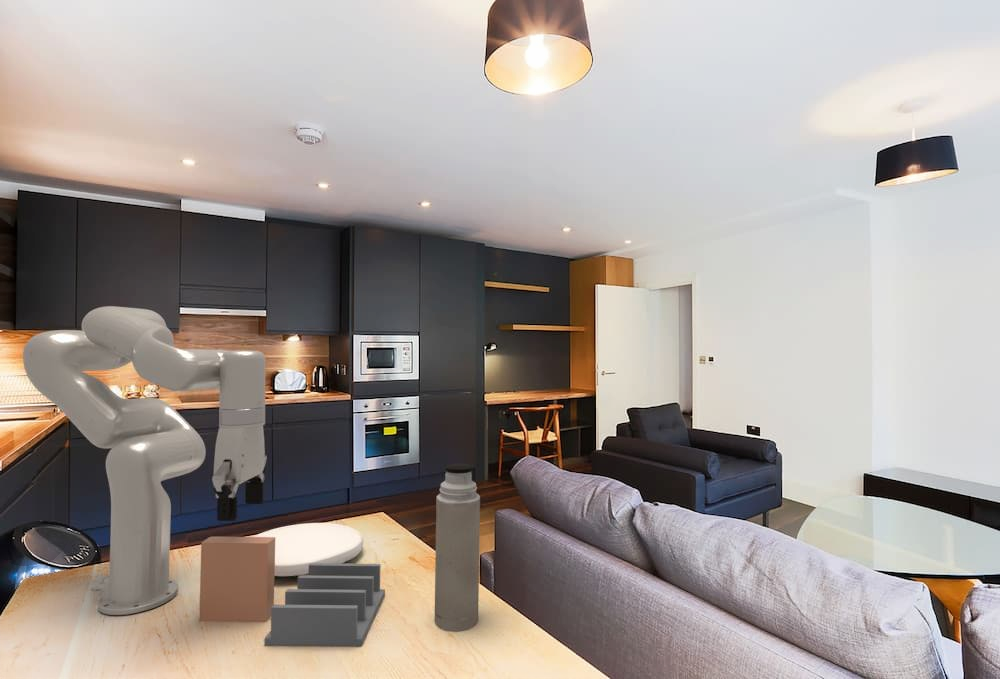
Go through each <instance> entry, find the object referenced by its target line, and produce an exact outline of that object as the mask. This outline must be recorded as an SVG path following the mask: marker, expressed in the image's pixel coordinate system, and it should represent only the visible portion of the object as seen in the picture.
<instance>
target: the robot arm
mask: <svg viewBox="0 0 1000 679" xmlns="http://www.w3.org/2000/svg"><path fill="white" fill-rule="evenodd" d="M174 341H175V340H174V334H173V332H172V331H171V330H170V329H169V328H168V327H167V324H166V321H165V319H164V318H163V316H161V315H160V314H159V313H157V312H156V311H153V310H151V309H147V308H136V307H126V306H115V305H113V306H112V305H109V306H101V307H97V308H95V309H92V310H90V311H89V312H88V313H86V315H85V316H84V317H83V319H82V321H81V330H76V329H59V330H56V329H55V330H49V331H45V332H40V333H37V334H36V335H33V336H32V337H31V338H30V339H28V340H27V342H26V343H25V345H24V348H23V351H22V362H23V367H24V372H25V373H26V376H27V379H29V381H30V383H31V384H32V385H33V387H34V388H35V389H36V390H37V391H38V392H39V393H40V394H42V395H43V396H44V397H45V398H46V399H48V400H49V401H50V402H52V403H53V404H54V405H55V406H56V407H58V408H59V409H60V410H61V412H62V413H63V414H64V415H65V416H66V417H67V419H69V421H70V422H71V423H72V424H73V425H74V426H75V427H76V428H77V429H78V430H79V431H80V433H81V434H82V435H83V436H84V437H85V438H86V440H88V441H89V443H91V444H92V445H94V446H96V447H97V448H99V449H110V450H109V452H108V453H107V456H106V459H105V470H106V476H107V480H108V487H109V492H110V543H109V544H110V546H109V547H110V548H109V575H96V577H95V578H94V579H93V583H92V584H91V585H90V589H89V591H91V592H99V591H102V597H100V599H99V600H98V603H97V610H98V611H99V612H100V613H102V614H104V615H108V616H109V615H111V616H123V615H124V616H125V615H131V614H132V615H133V614H137V613H142V612H144V611H149V610H151V609H155V608H157V607H159V606H162V605H163V604H166V603H167V602H169V601H171V600H172V599H173V598H175V596H177V594H178V590H179V584H178V583H177V582H176V581H174V580H173V579H170V553H171V551H170V550H171V548H170V547H171V521H172V520H171V517H172V516H171V515H172V514H171V513H172V510H171V509H172V505H171V499H170V497H169V494H168V493H167V491H166V490H165V489H164V487H163V486H162V483H161V482H162V481H166V480H169V479H174V478H176V477H180V476H183V475H187V474H189V473H192V472H194V471H195V470H197V469H198V468H200V467H201V465H202V464H203V463H204V462H205V459H206V453H207V452H206V445H205V443H204V440H203V439H202V437H201V436H200V434H199V433H198V432H197V431H196V430H195V428H194V427H193V426H191V425H190V424H189V422H188V421H186V419H185V418H184V417H183V416H182V415H181V414H180V413H179V412H178V411H177V410H176V409H175V408H174V407H173V406H172V405H171V404H169V403H168V402H167V401H165V400H162V399H159V398H156V397H140V398H139V397H138V398H123V397H120V396H118V395H117V393H115V392H114V391H113V390H112V389H111V388H110V386H108V385H107V384H106V383H104V382H103V381H102V380H101V379H99V378H97V377H95V376H93V375H91V374H88V373H86V372H87V371H88V372H89V371H110V370H117V369H120V368H122V367H124V366H126V365H128V364H130V363H132V365H133V368H134V370H135V372H136V374H137V375H138V376H139V377H140V378H142V379H143V380H146V381H148V382H149V383H152V384H154V385H155V386H159V387H161V388H163V389H166V390H168V391H169V390H170V391H174V392H183V393H184V392H193V391H204V390H218V389H219V402H218V403H219V407H218V408H219V412H218V413H219V417H218V418H219V419H218V422H219V423H218V427H219V428H218V431H217V436H216V439H215V440H216V441H215V450H214V460H213V461H214V462H213V476H212V477H211V478H212V479H211V481H212V483H213V490H214V493H215V498H216V499H217V500H216V502H217V505H216V507H217V508H216V520H217V521H219V522H231V521H232V522H233V521H236V520H237V519H238V496H236V494H237V491H238V488H239V486H240V485H241V484H243V483H245V494H244V495H245V496H244V497H245V500H244V501H245V504H246V505H261V504H262V503H263V502H264V481H265V477H266V476H265V472H266V470H267V469H266V463H267V458H268V457H267V455H266V454H265V453H266V450H265V449H266V448H265V434H264V426H265V425H266V371H267V370H266V368H267V367H266V366H267V365H266V363H267V362H266V361H267V360H266V356H265V353H263V352H262V351H260V350H227V349H208V348H201V349H200V348H198V349H197V348H196V349H195V348H188V349H187V348H185V349H184V348H183V349H182V348H179V347H175V346H174V344H175V342H174ZM84 371H85V372H84ZM229 486H231V487H229Z"/></svg>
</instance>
